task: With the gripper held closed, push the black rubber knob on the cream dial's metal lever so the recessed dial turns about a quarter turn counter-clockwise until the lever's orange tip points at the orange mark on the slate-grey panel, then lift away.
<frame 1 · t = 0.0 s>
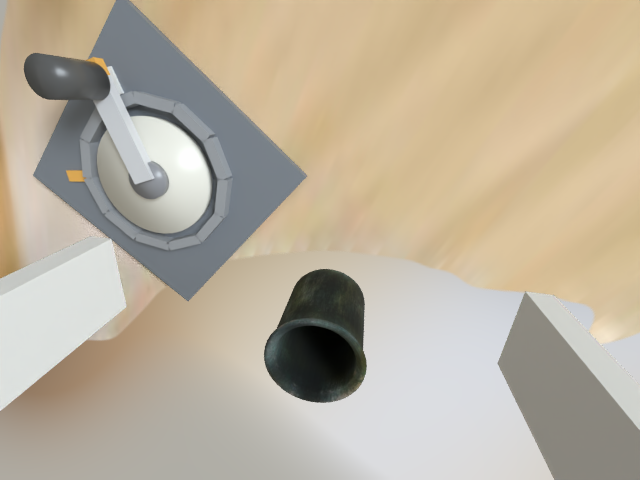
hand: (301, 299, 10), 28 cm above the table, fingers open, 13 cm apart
dial: (123, 159, 34), point 5 cm above the table, hinge at 0.0°
panel: (164, 174, 40), on the table
mug: (327, 308, 44), on the table
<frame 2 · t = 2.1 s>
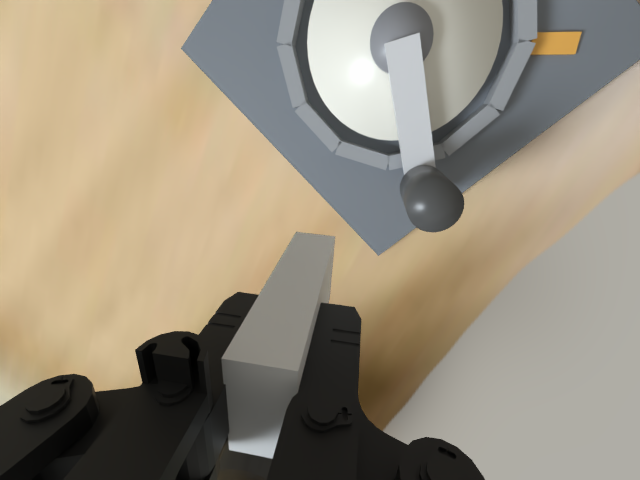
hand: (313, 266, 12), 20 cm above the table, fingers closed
dial: (409, 80, 22), point 5 cm above the table, hinge at 0.0°
panel: (397, 48, 26), on the table
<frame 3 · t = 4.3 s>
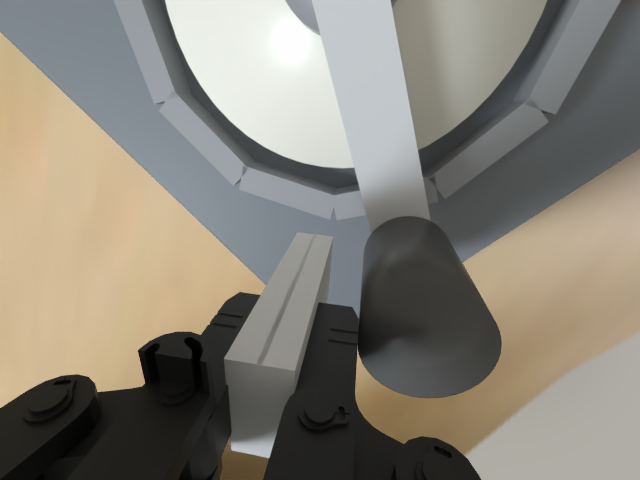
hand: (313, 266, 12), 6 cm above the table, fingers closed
dial: (359, 41, 9), point 5 cm above the table, hinge at 3.1°, touching gripper
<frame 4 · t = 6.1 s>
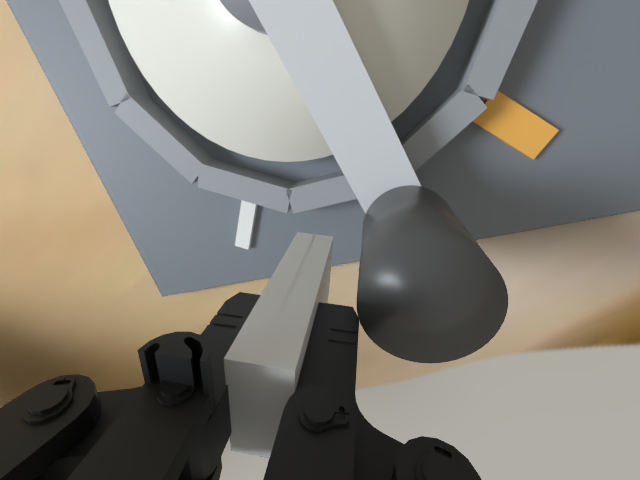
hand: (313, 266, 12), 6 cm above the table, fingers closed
dial: (299, 25, 10), point 5 cm above the table, hinge at 44.6°, touching gripper
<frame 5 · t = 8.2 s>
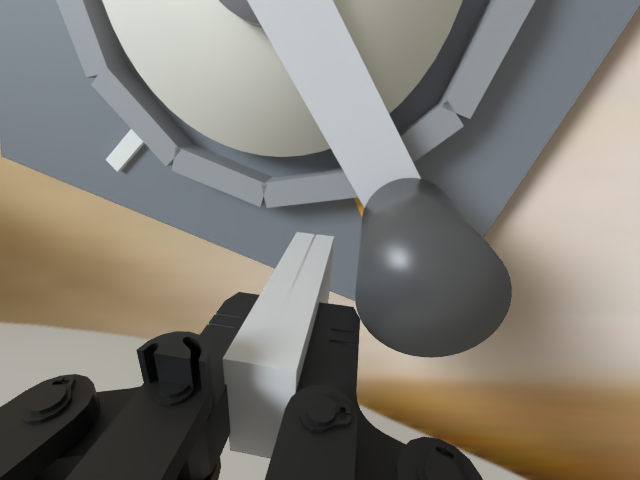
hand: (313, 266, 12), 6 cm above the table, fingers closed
dial: (293, 14, 9), point 5 cm above the table, hinge at 82.0°, touching gripper
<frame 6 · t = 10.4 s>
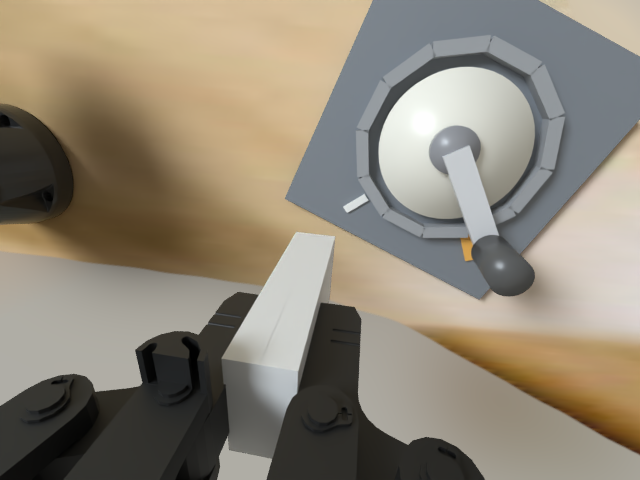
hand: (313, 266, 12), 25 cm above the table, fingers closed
dial: (469, 183, 28), point 5 cm above the table, hinge at 82.1°
panel: (447, 146, 32), on the table
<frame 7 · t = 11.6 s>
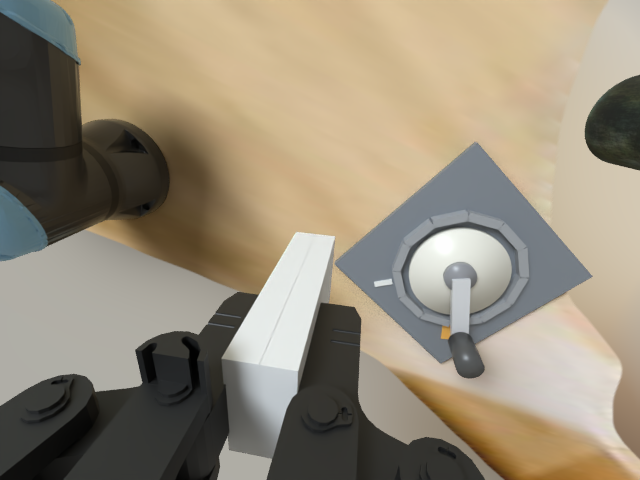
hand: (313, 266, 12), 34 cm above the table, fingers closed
dial: (463, 302, 44), point 5 cm above the table, hinge at 82.1°
panel: (454, 266, 48), on the table
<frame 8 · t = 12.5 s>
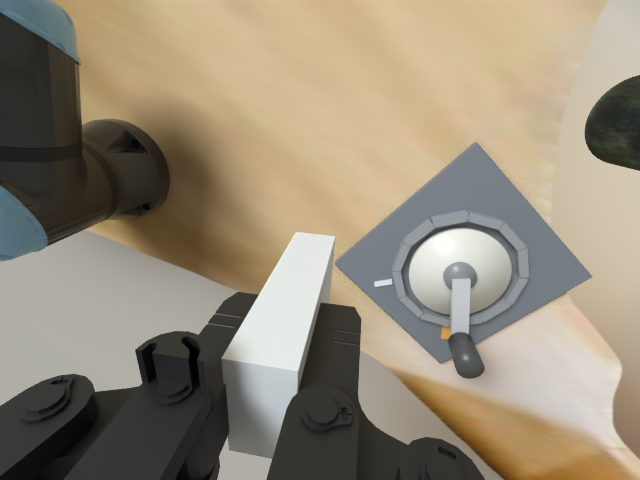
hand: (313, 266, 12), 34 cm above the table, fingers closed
dial: (463, 302, 44), point 5 cm above the table, hinge at 82.1°
panel: (454, 267, 48), on the table
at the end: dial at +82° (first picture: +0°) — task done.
